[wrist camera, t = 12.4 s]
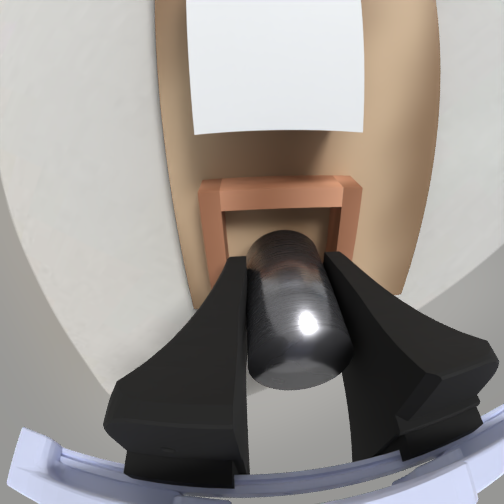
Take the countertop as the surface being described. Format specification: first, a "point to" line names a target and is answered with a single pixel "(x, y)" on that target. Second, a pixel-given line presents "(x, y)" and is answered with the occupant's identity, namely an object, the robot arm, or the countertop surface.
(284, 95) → the plain white cuboid
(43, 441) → the robot arm
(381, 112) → the board
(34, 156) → the countertop surface
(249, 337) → the grey metal cylinder
